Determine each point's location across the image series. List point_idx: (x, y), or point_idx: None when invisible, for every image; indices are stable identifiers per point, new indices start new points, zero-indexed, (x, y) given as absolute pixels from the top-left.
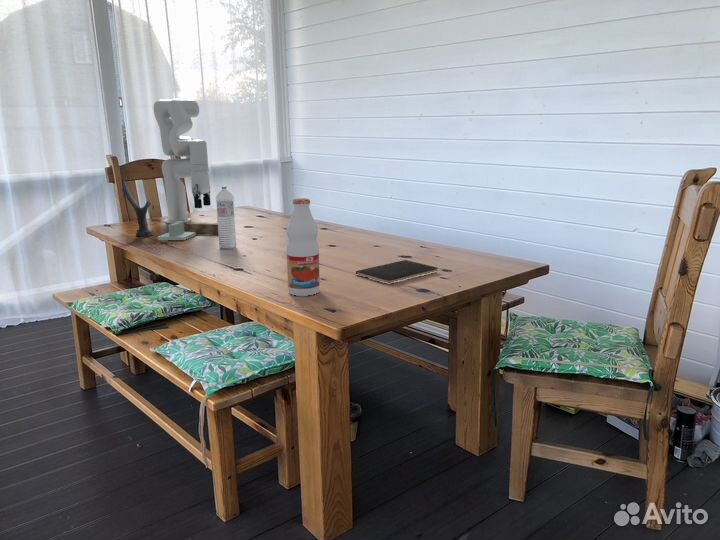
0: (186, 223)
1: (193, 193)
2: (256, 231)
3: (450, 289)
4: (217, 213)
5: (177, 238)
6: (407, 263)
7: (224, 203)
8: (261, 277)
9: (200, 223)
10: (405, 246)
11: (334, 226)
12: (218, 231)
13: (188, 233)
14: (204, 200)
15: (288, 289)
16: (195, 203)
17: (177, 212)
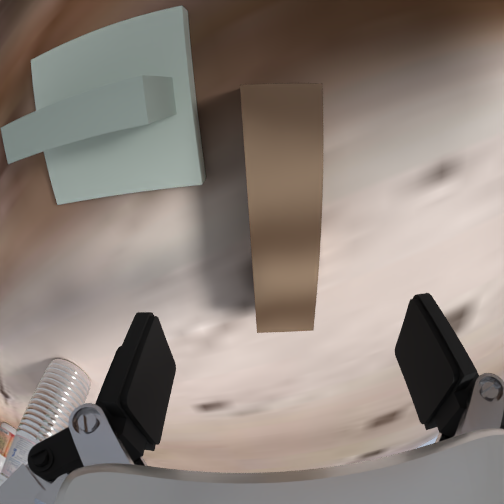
0: (254, 90)
1: (22, 473)
2: (352, 379)
3: None
4: (12, 442)
5: (51, 166)
6: None
7: None
8: (8, 411)
9: (276, 209)
10: None
11: (399, 452)
12: (31, 398)
13: (151, 162)
14: (431, 351)
15: (1, 424)
16: (110, 368)
17: None
